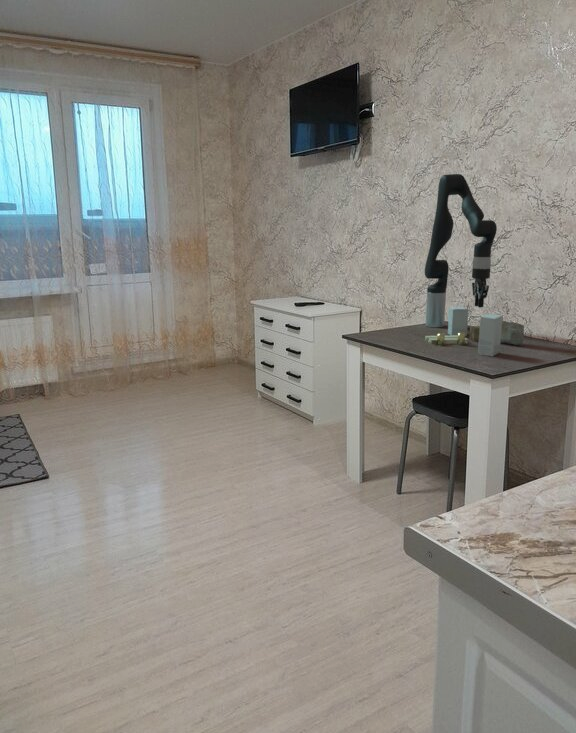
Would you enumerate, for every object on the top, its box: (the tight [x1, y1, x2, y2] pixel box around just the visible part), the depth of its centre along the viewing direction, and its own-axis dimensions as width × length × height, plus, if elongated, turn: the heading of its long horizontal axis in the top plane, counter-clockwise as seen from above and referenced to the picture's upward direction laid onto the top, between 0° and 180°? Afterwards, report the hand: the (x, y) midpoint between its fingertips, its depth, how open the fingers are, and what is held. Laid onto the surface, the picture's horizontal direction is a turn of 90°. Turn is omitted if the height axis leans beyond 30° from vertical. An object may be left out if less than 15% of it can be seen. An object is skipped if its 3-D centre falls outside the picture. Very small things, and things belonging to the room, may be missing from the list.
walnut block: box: [468, 325, 480, 342], centre depth 268 cm, size 5×5×6 cm
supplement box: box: [447, 306, 469, 337], centre depth 280 cm, size 7×7×13 cm
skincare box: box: [477, 313, 504, 357], centre depth 239 cm, size 8×7×16 cm
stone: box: [500, 320, 525, 346], centre depth 257 cm, size 14×6×10 cm, turn 30°
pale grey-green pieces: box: [424, 334, 469, 345], centre depth 265 cm, size 10×16×2 cm, turn 94°
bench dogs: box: [436, 332, 466, 346], centre depth 258 cm, size 3×12×5 cm, turn 95°
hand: (478, 306), depth 265 cm, fingers open, 3 cm apart
